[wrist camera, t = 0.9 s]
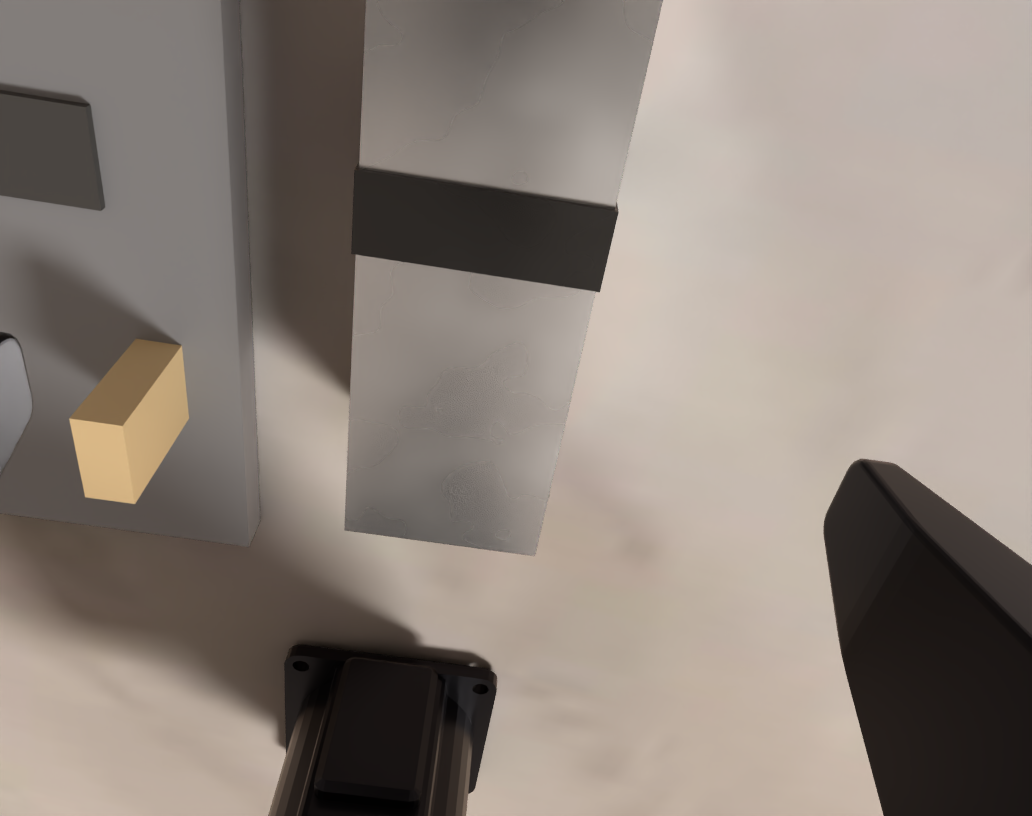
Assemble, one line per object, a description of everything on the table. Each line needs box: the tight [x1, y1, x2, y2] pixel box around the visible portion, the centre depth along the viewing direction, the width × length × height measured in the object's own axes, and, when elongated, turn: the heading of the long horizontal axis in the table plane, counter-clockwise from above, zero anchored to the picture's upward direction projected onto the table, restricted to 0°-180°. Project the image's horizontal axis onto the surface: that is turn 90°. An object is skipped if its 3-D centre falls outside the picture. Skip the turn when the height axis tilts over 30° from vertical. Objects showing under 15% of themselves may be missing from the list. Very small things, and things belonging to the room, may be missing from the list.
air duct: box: [345, 0, 663, 556], centre depth 15 cm, size 14×4×4 cm, turn 171°
